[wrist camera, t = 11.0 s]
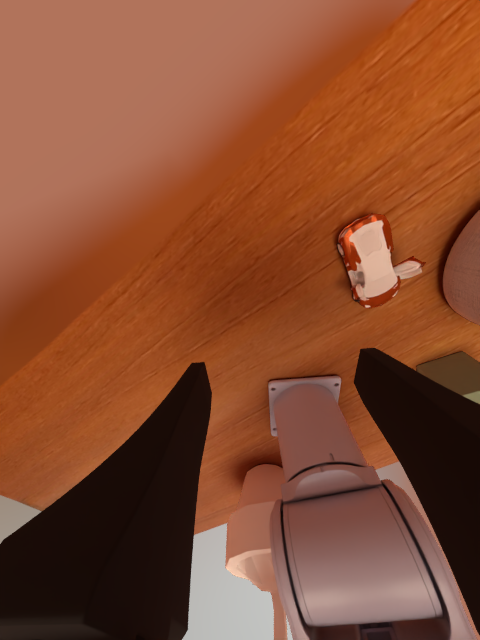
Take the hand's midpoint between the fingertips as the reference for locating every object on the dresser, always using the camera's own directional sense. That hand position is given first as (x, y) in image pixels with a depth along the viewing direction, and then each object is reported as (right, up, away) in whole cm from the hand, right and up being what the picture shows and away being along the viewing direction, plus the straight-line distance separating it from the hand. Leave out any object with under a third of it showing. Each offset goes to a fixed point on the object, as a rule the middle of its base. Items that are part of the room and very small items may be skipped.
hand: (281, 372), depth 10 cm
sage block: (+20, -3, +13) cm, 24 cm away
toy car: (+9, +7, +8) cm, 14 cm away
